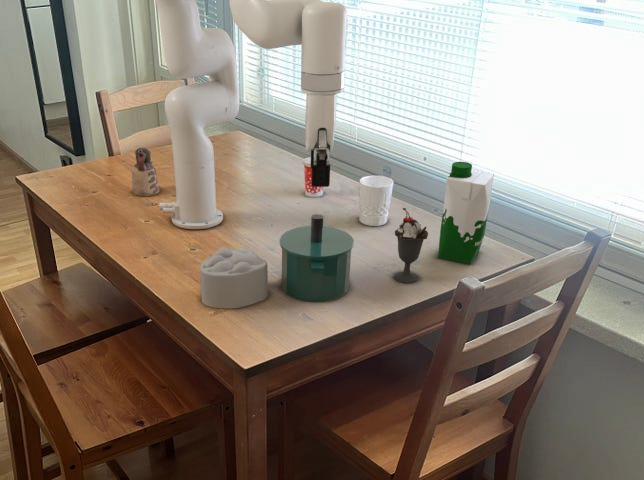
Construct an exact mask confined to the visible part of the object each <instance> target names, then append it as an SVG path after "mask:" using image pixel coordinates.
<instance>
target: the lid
mask: <svg viewBox="0 0 644 480" xmlns="http://www.w3.org/2000/svg"><path fill="white" fill-rule="evenodd" d="M310 218H311V219H310V220H311V221H310V225H305V226H298V227H294V228H291V229H288V230H287V231H285V232H284V233H282V235H280V238H279V246H280V248H281V250H282V249H283V250H284V251H286V252H287V253H289V254H291V255H294V256H297V257H301V258H307V259H329V258H335V257H339V256H342V255H344V254H346V253H348V252H349V251H350V250H351V251H352V250H353V248H354V245H355V240H354V238H353V236H352V235H351V234H350V233H348V232H347V231H345V230H342V229H340V228H335V227H333V226H325V225H324V219H325V216H324V215H323V214H320V213H316V214H312V215H311V217H310Z"/></svg>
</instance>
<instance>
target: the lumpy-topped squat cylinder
mask: <svg viewBox="0 0 644 480" xmlns="http://www.w3.org/2000/svg"><path fill="white" fill-rule="evenodd" d="M268 274H269V273H268V261H267V260H266V259H265V258H263V257H261V256H259V255H258V254H257V253H256V252H255V251H254V250H252V249H248V248H244V247H243V248H237V249H232V250H231V249H230V248H228V247H222V248H219V249H218V250H217V251H216V252H214V254H213V255H210V256H209V257H208V258H207V259H205V260H204V261H202V263H201V265H200V267H199V275H200V292H201V293H200V294H201V302H202V304H204V305H205V306H207V307H209V308H214V309H225V310H226V309H239V308H243V307H247V306H250V305H251V306H252V305H254V304H257V303H259V302H262V301H264V300H265V299H266V298H268V294H269V290H268V289H269V288H268V287H269V285H268V284H269V283H268V282H269V279H268V277H269V276H268Z"/></svg>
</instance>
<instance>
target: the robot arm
mask: <svg viewBox="0 0 644 480" xmlns="http://www.w3.org/2000/svg"><path fill="white" fill-rule="evenodd" d="M154 1H155V4H156V7H157V10H158V16H159V25H160V31H161V39H162V47H163V54H164V59H165V66H166V68H167V71H168V73H169V75H170V76H171V77H172V78H174V79H177V80H178V79H179V80H186V79H193V78H199V77H200V78H201V77H206V76H208V79H209V81H203V82H198V83H192V84H187V85H181V86H178V87H176V88H174V89H172V90H171V91H169V93H168V94H167V95H166V97H165V100H164V112H165V116H166V120H167V124H168V128H169V132H170V133H169V134H170V139H171V146H172V147H171V148H172V149H171V150H172V159H173V170H174V171H173V172H174V173H173V174H174V184H175V196H176V197H175V199H176V200H175V201H172V202H159V207H158V208H159V211H162V213H163V214H171V223H173V225H175V226H176V227H178V228H180V229H185V230H205V229H210V228H213V227H216V226H218V225H219V224H221V223H222V222H223V220H224V214H223V212H222V211H221V210H220V209H218V208H217V193H216V174H215V173H216V172H215V152H214V146H213V143H212V141H211V140H210V138H209V137H208V136H207V134H206V133H205V131H204V129H205V128H206V129H207V128H209V127H213V126H217V125H222V124H226V123H229V122H232V121H233V120H235V119H236V118H237V116H238V114H239V112H240V103H241V102H240V91H239V90H240V89H239V77H238V65H237V56H236V49H235V46H234V42H233V41H232V39H231V36H230V35H229V34H228V32H226V31H225V30H224V29H222V28H220V27H207V28H202V25H201V20H200V19H201V18H200V9H199V6H198V4H197V2H196V0H154ZM228 3H229V9H230V13H231V16H232V18H233V21H234V23H235V25H236V26H237V28H238V29H239V30H240V31H241V32H242V33H243V34H244V36H245V37H246V38H248V39H249V40H250V41H251V42H252V43H253V44H255V45H256V46H258V47H259V48H262V49H266V50H274V49H279V48H285V47H290V46H291V47H292V46H300V45H301V57H300V58H301V59H300V61H301V63H300V64H301V65H300V67H301V68H300V76H301V77H300V91H301V92H302V93H303V94H306V96H305V97H306V98H305V119H304V120H305V121H304V122H305V128H304V130H305V132H304V145H305V151H306V152H307V153H310V157H311V169H312V186H313V187H323V188H329V186H330V184H331V183H330V182H331V164H330V152H331V151H333V149H334V142H335V133H336V121H337V119H336V118H337V100H338V99H337V97H338V95H339V94H341V93H343V92H344V91H345V75H346V74H345V73H346V71H345V70H346V51H347V49H346V47H347V31H348V30H347V26H348V10H347V8H346V6H345V5H344V4H342V3H340V2H333V1H332V2H331V1H323V0H228Z"/></svg>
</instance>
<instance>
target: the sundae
mask: <svg viewBox="0 0 644 480" xmlns="http://www.w3.org/2000/svg"><path fill="white" fill-rule="evenodd" d="M402 210H403V211H405V213H406V216H405V217H403V219H402V223H400V224H399V226H398V227H397V229H395V230H394V236H396V238H397V252H398V258H399V259H400V261H402V262H403V263H404V268H403V271H399V272H396V273H395V274H394V276H393V278H394V279H395V281H397V282H399V283H404V284H412V283H415V282H417V281H418V280H419V276H418V275H417V274H416V273H414V272H411V264H412V263H415V262H416V261H417V260H418V259H419V257H420V254H421V250H422V246H423V243H424V240H427V239H428V236H429V232H428V230H426V229H427V226H424V227H423V228H422V224H421V223H420V222H419V221H418V220H417V219H414V218H413V217H412V216H410V213H409V211H408V210H407V208H406V207H402Z"/></svg>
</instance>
